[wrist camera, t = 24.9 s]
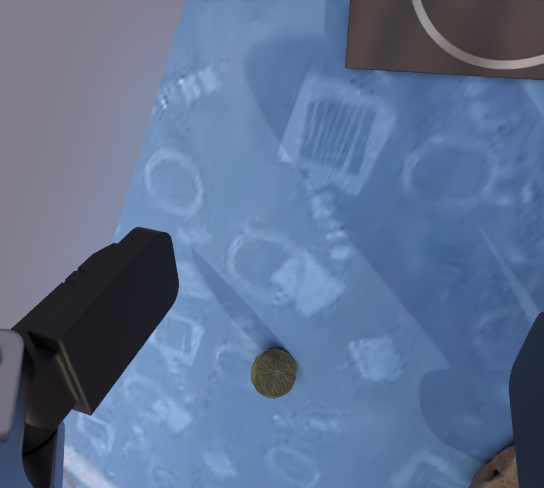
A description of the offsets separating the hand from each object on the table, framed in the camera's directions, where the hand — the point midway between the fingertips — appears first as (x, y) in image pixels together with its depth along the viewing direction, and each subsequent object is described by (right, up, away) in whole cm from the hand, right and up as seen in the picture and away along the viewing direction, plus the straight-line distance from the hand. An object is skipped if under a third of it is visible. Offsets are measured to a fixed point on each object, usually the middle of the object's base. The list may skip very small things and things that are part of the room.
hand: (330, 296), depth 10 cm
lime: (0, -12, +40) cm, 42 cm away
